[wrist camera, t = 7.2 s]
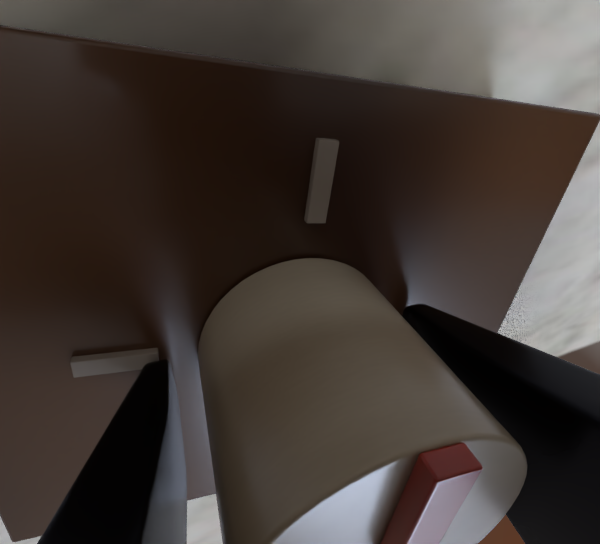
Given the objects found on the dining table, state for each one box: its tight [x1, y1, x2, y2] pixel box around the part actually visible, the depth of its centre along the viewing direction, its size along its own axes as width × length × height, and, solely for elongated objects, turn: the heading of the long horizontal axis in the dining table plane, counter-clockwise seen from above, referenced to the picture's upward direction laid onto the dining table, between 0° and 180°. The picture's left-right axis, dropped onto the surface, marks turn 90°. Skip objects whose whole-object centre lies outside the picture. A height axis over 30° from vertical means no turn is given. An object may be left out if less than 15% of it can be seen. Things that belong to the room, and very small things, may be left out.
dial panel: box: [0, 25, 600, 542], centre depth 9 cm, size 12×10×3 cm
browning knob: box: [198, 258, 527, 544], centre depth 6 cm, size 4×4×4 cm
